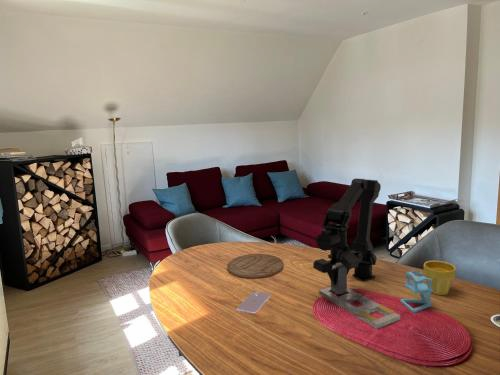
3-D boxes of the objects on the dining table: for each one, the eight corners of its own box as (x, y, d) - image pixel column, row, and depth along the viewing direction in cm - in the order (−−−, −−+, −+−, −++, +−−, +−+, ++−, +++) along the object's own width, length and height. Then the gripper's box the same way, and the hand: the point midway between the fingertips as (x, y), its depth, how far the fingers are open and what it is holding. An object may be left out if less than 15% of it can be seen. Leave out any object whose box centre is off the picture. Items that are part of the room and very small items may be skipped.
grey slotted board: (340, 287, 145) (340, 282, 144) (400, 319, 120) (400, 314, 120) (319, 294, 140) (319, 289, 140) (377, 329, 116) (377, 323, 115)
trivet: (293, 262, 172) (293, 258, 172) (265, 284, 151) (265, 279, 151) (247, 254, 185) (246, 250, 185) (216, 273, 165) (215, 269, 164)
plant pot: (453, 287, 140) (454, 262, 139) (455, 299, 131) (456, 273, 129) (422, 283, 145) (423, 258, 143) (422, 295, 135) (423, 269, 134)
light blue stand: (436, 309, 125) (437, 275, 123) (412, 312, 124) (414, 278, 122) (421, 299, 133) (423, 266, 131) (399, 301, 132) (401, 269, 129)
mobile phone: (235, 308, 131) (253, 290, 145) (235, 311, 131) (253, 292, 145) (255, 312, 128) (271, 293, 141) (255, 315, 128) (271, 295, 142)
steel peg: (339, 287, 140) (339, 262, 138) (346, 291, 137) (346, 265, 135) (330, 290, 138) (330, 264, 137) (338, 294, 135) (338, 268, 133)
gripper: (333, 254, 123) (333, 299, 126) (374, 243, 131) (374, 285, 134) (311, 245, 133) (312, 286, 135) (352, 235, 141) (352, 274, 144)
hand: (338, 283), depth 137 cm, fingers closed on steel peg, 4 cm apart
